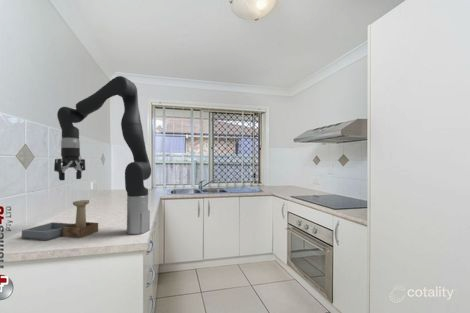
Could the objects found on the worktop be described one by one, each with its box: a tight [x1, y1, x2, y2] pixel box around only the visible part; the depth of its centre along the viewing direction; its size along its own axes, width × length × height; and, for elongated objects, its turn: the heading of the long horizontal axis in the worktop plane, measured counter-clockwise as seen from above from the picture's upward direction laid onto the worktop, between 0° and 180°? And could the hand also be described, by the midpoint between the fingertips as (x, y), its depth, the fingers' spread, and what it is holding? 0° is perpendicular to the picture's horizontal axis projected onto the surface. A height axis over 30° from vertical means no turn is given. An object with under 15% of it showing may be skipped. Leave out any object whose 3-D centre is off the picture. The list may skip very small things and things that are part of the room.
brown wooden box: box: [61, 221, 99, 239], centre depth 100 cm, size 10×9×4 cm
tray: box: [21, 221, 72, 242], centre depth 99 cm, size 14×13×4 cm
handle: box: [72, 199, 90, 228], centre depth 100 cm, size 5×6×15 cm
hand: (70, 179), depth 108 cm, fingers open, 8 cm apart
